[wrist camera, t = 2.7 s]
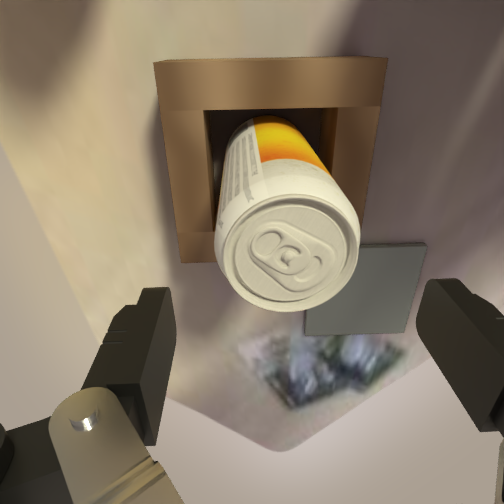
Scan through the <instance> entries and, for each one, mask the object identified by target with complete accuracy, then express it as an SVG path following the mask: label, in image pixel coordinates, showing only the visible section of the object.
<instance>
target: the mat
mask: <svg viewBox="0 0 504 504" xmlns="http://www.w3.org/2000/svg"><path fill="white" fill-rule="evenodd" d="M426 250H427V245H426V244H425V243H409V244H376V245H359V251H358V260H357V264H356V267H355V270H354V272H353V274H352V276H351V278H350V279H349V281H348V282H347V284H346V285H345V286H344V287H343V288H342V289H341V290H340V291H339V292H338V293H337V294H336V295H335V296H334V297H332V298H331V299H329V300H328V301H326V302H324V303H322V304H320V305H318V306H316V307H313V308H310V309H307V310H306V317H305V330H304V333H305V336H321V335H350V334H379V333H404V331H405V327H406V324H407V320H408V316H409V313H410V309H411V305H412V302H413V298H414V294H415V290H416V287H417V283H418V279H419V276H420V272H421V268H422V265H423V261H424V257H425V254H426Z"/></svg>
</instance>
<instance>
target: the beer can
mask: <svg viewBox="0 0 504 504" xmlns="http://www.w3.org/2000/svg"><path fill="white" fill-rule="evenodd" d="M359 245H360V225H359V220H358V217H357V214H356V212H355V210H354V208H353V206H352V204H351V203H350V202H349V200H348V199H347V197H346V196H345V195H344V193H343V192H342V190H341V189H340V188H339V186H338V185H337V183H336V182H335V180H334V179H333V178H332V176H331V175H330V173H329V172H328V171H327V169H326V168H325V166H324V165H323V163H322V162H321V161H320V159H319V158H318V156H317V155H316V154H315V152H314V151H313V149H312V148H311V147H310V145H309V144H308V142H307V141H306V139H305V138H304V137H303V135H302V134H301V132H300V131H299V130H298V129H297V128H296V126H294V125H293V124H292V123H291V122H289V121H287V120H285V119H283V118H281V117H277V116H271V115H264V116H258V117H254V118H252V119H249V120H247V121H246V122H244V123H243V124H241V125H240V126H239V127H238V128H237V129H236V130H235V131H234V133H233V134H232V136H231V137H230V139H229V141H228V144H227V147H226V152H225V160H224V167H223V175H222V183H221V191H220V199H219V206H218V214H217V222H216V230H215V239H214V249H215V255H216V259H217V262H218V265H219V267H220V269H221V271H222V272H223V274H224V276H225V277H226V278H227V279H228V281H229V283H230V285H231V286H232V288H233V289H234V290H235V291H236V292H237V294H239V295H240V296H241V297H242V298H243V299H245V300H246V301H247V302H249V303H251V304H252V305H254V306H257V307H259V308H262V309H265V310H269V311H274V312H297V311H303V310H307V309H310V308H313V307H316V306H318V305H320V304H322V303H324V302H326V301H328V300H329V299H331V298H332V297H334V296H335V295H336V294H337V293H338V292H339V291H340V290H341V289H342V288H343V287H344V286H345V285H346V284H347V282H348V281H349V279H350V278H351V276H352V274H353V272H354V270H355V267H356V264H357V260H358V251H359Z"/></svg>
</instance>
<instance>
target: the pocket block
mask: <svg viewBox="0 0 504 504" xmlns="http://www.w3.org/2000/svg"><path fill="white" fill-rule="evenodd" d="M387 62H388V58H382V57H370V56H338V57H287V58H235V59H184V60H164V61H159V62H154V63H153V64H154V71H155V79H156V86H157V93H158V100H159V107H160V114H161V121H162V129H163V136H164V143H165V150H166V157H167V164H168V172H169V179H170V186H171V193H172V200H173V207H174V215H175V222H176V229H177V236H178V243H179V250H180V257H181V263H198V262H217V259H216V255H215V249H214V239H215V230H216V222H217V214H218V206H216V194H215V181H214V167H213V153H212V140H211V126H210V112H209V110H234V109H279V108H322V115H321V128H320V141H319V153H318V158H319V159H320V161H321V162H322V163H323V165H324V166H325V168H326V169H327V171H328V172H329V173H330V175H331V176H332V178H333V179H334V180H335V182H336V183H337V185H338V186H339V188H340V189H341V190H342V192H343V193H344V195H345V196H346V197H347V199H348V200H349V202H350V203H351V204H352V206H353V208H354V210H355V212H356V214H357V217H358V220H359V225H360V233H361V227H362V221H363V214H364V208H365V202H366V195H367V189H368V183H369V176H370V170H371V164H372V157H373V151H374V145H375V138H376V132H377V126H378V119H379V113H380V107H381V100H382V94H383V88H384V81H385V75H386V69H387Z"/></svg>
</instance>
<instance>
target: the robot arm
mask: <svg viewBox="0 0 504 504" xmlns="http://www.w3.org/2000/svg"><path fill="white" fill-rule="evenodd" d="M416 328H417V332H418V335H419V337H420V339H421V340H422V342H423V343H424V345H425V347H426V348H427V350H428V351H429V353H430V354H431V356H432V358H433V359H434V361H435V362H436V364H437V365H438V367H439V369H440V370H441V371H442V373H443V375H444V376H445V378H446V379H447V381H448V383H449V384H450V386H451V387H452V389H453V391H454V392H455V394H456V395H457V397H458V398H459V400H460V401H461V403H462V405H463V406H464V408H465V409H466V411H467V412H468V414H469V416H470V417H471V419H472V420H473V422H474V424H475V425H476V427H477V428H478V430H479V431H480V432H491V431H499V432H500V433H501V434H502V436H503V437H504V316H503V314H502V313H501V312H500V311H499V310H498V309H497V308H496V307H495V306H494V305H493V304H491V303H489V302H488V301H486V300H485V299H483V298H481V297H480V296H478V295H476V294H472V293H471V292H470V291H469V290H468V289H467V287H466V286H465V285H464V284H463V283H462V282H461V281H460V280H458V279H456V278H449V279H430V280H429V281H428V282H427V283H426V286H425V289H424V293H423V296H422V300H421V303H420V306H419V310H418V313H417V317H416ZM175 346H176V322H175V316H174V310H173V303H172V297H171V291H170V288H169V287H155V288H143V290H142V292H141V295H140V297H139V300H138V303H137V305H125V306H124V307H123V308H122V309H121V310H120V311H119V312H118V313H117V314H116V315H115V316H114V317H113V319H112V322H111V324H110V326H109V328H108V333H106V335H105V337H104V339H103V344H102V345H101V346H100V348H99V351H98V353H97V355H96V357H95V360H94V362H93V364H92V366H91V368H90V370H89V373H88V375H87V377H86V379H85V382H84V384H83V386H82V388H81V390H80V391H78V392H76V393H74V394H72V395H71V396H69V397H68V398H66V399H65V400H64V401H63V402H62V403H61V404H60V405H59V406H58V407H57V408H56V409H55V411H54V412H53V414H52V416H50V417H48V418H45V419H43V420H40V421H37V422H34V423H31V424H27V425H24V426H22V427H18V428H15V429H12V430H9V431H5V429H4V427H3V426H2V425H1V424H0V504H184V502H183V500H182V499H181V497H180V495H179V494H178V492H177V490H176V489H175V487H174V485H173V484H172V482H171V480H170V478H169V477H168V475H167V474H166V472H165V470H164V469H163V467H162V466H161V465H160V463H159V462H158V461H155V462H154V460H153V459H152V457H151V456H150V454H149V452H148V451H147V449H146V447H145V446H155V445H156V441H157V435H158V431H159V426H160V421H161V416H162V411H163V406H164V401H165V396H166V391H167V386H168V381H169V376H170V371H171V366H172V361H173V356H174V351H175ZM494 504H504V439H503V440H502V442H501V444H500V448H499V459H498V470H497V481H496V492H495V503H494Z"/></svg>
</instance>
